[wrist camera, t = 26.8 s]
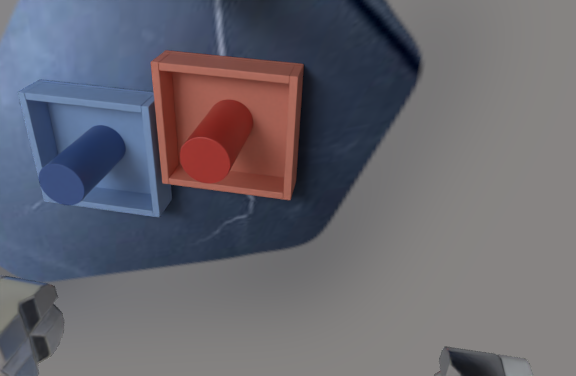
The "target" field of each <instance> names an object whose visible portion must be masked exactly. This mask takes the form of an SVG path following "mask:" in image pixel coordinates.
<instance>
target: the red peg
mask: <svg viewBox="0 0 576 376" xmlns="http://www.w3.org/2000/svg"><path fill="white" fill-rule="evenodd" d="M252 128H253V118H252V115H251V113H250V111H249V110H248V109H247V107H246V106H245V105H243V104H242V103H240V102H238V101H235V100H222V101H219V102H218V103H216V104H215V105H214V106H213V107H212V108H211V110H210V111H209V112H208V114H207V115H206V116H205V117H204V119H203V120H202V121H201V123H200V124H199V125H198V126H197V128H196V129H195V130H194V132H193V133H192V134H191V135H190V137H189V138H188V139H187V141H186V142H185V143H184V145H183V146H182V148H181V150H180V162H181V165H182V167H183V169H184V170H185V172H186V173H187V174H188V175H189V176H190V177H191V178H193V179H194V180H196V181H199V182H202V183H207V184H212V183H217V182H219V181H222V180H223V179H224V178H225V177H226V176H227V175H228V173H229V172H230V170H231V168H232V166H233V164H234V162H235V161H236V159H237V157H238V155H239V153H240V151H241V149H242V148H243V146H244V144H245V142H246V140H247V138H248V137H249V135H250V133H251V131H252Z"/></svg>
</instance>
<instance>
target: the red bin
mask: <svg viewBox="0 0 576 376" xmlns="http://www.w3.org/2000/svg"><path fill="white" fill-rule="evenodd" d="M151 70H152V81H153V91H154V101H155V112H156V122H157V132H158V143H159V153H160V164H161V174H162V183H163V184H171V185H178V186H186V187H194V188H201V189H209V190H217V191H224V192H232V193H239V194H247V195H255V196H262V197H270V198H278V199H284V200H291V197H292V193H293V190H294V187H295V183H296V174H297V159H298V144H299V129H300V114H301V99H302V84H303V70H304V64H298V63H288V62H278V61H268V60H258V59H248V58H238V57H228V56H218V55H208V54H198V53H188V52H178V51H168V50H166V51H164V52H163V53H162V54H161V55H159V56H158V57H157V58H155V59H154V60H153V61H151ZM222 100H235V101H238V102H240V103H242V104H243V105H245V106H246V107H247V109H248V110H249V111H250V113H251V115H252V118H253V128H252V131H251V133H250V135H249V137H248V138H247V140H246V142H245V144H244V146H243V148H242V149H241V151H240V153H239V155H238V157H237V159H236V161H235V162H234V164H233V166H232V168H231V170H230V172H229V173H228V175H227V176H226V177H225V178H224V179H223V180H222V181H219V182H217V183H212V184H207V183H202V182H199V181H196V180H194V179H193V178H191V177H190V176H189V175H188V174H187V173H186V172H185V170H184V169H183V167H182V165H181V162H180V150H181V148H182V146H183V145H184V143H185V142H186V141H187V139H188V138H189V137H190V135H191V134H192V133H193V132H194V130H195V129H196V128H197V126H198V125H199V124H200V123H201V121H202V120H203V119H204V117H205V116H206V115H207V114H208V112H209V111H210V110H211V108H212V107H213V106H214V105H215V104H216V103H218V102H219V101H222Z"/></svg>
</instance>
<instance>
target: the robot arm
mask: <svg viewBox="0 0 576 376" xmlns="http://www.w3.org/2000/svg"><path fill="white" fill-rule="evenodd" d="M57 299H58V295H57V292H56V289H55V286H53V285H50V284H47V283H41V282H36V281H31V280H25V279H20V278H15V277H9V276H2V275H0V376H38V375H39V363H40V362H42V361H44V360H46V359H48V358H49V357H51V356H52V355H53V353H54V352H55V350H56V349H57V347H58V346H59V344H60V341H61V338H62V335H63V333H64V318H63V313H62V312H61V311H60V310H59V309H58V308H57V307H56V306H55V305H54V302H55V301H56V300H57ZM439 364H440V371H439V372H438V373H436V374H434V376H533V373H532V370H531V367H530V363H529V362H528V361H527V360H526V359H525V358H518V357H511V356H505V355H496V354H493V353H486V352H479V351H473V350H466V349H459V348H452V347H444V348H443V350H442V352H441V355H440V358H439Z"/></svg>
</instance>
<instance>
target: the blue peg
mask: <svg viewBox="0 0 576 376" xmlns="http://www.w3.org/2000/svg"><path fill="white" fill-rule="evenodd" d="M125 150H126V148H125V143H124V141H123V139H122V137H121V136H120V134H119V133H118V132H116V131H115V130H114V129H112V128H110V127H108V126H104V125H96V126H93V127H91V128H90V129H89V130H88V131H86V132H85V133H84V134H83V135H82V136H80V137H79V138H78V139H77V140H75V141H74V142H73V143H72V144H71V145H69V146H68V147H67V148H66V149H65V150H63V151H62V152H61V153H60V154H58V155H57V156H56V157H55V158H54V159H52V160H51V161H50V162H49V163H47V164H46V165H45V166H44V167H43V168H42V169H41V170H40V172H39V183H40V186H41V188H42V190H43V191H44V193H45V194H46V195H47V196H48V197H49V198H51V199H52V200H54V201H55V202H57V203H60V204H63V205H75V204H78V203H79V202H81V201H82V200H83V199H84V198H85V197H86V195H87V194H88V193H89V192H90V191H91V190H92V189H93V188H94V187H95V186H96V185H97V184H98V183H99V182H100V181H101V180H102V179H103V178H104V177H105V176H106V175H107V174H108V173H109V172H110V171H111V170H112V169H113V167H114V166H115V165H116V164H117V163H118V162H119V161H120V160H121V159H122V158H123V157H124V155H125Z"/></svg>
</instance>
